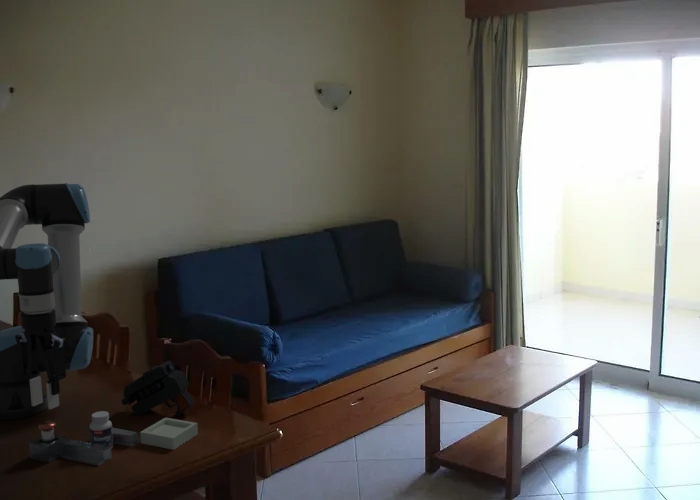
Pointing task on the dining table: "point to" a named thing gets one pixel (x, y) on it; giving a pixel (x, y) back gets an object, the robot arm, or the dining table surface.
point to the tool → (158, 390)
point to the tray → (169, 433)
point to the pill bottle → (101, 429)
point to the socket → (97, 448)
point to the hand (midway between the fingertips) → (45, 405)
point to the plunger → (47, 431)
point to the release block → (47, 449)
